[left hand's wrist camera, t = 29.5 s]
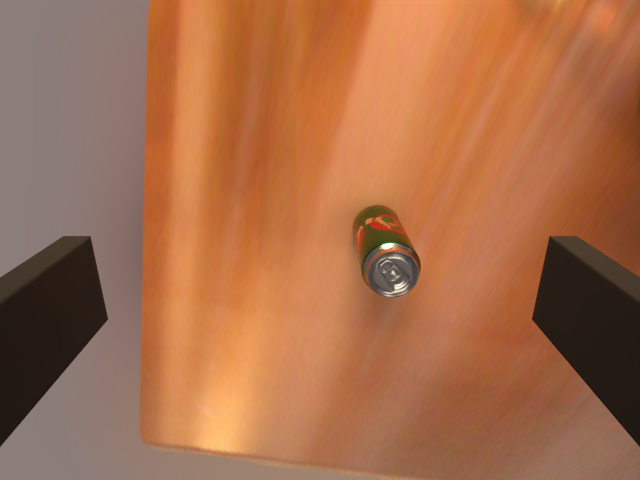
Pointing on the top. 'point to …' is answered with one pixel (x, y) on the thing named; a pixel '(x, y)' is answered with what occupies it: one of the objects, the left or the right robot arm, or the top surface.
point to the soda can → (385, 252)
